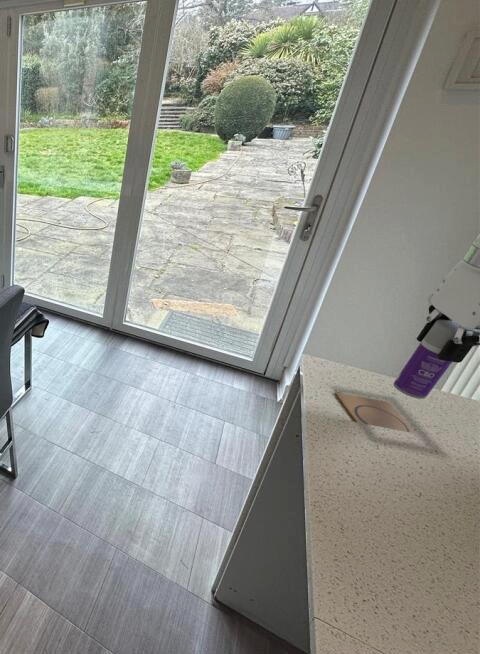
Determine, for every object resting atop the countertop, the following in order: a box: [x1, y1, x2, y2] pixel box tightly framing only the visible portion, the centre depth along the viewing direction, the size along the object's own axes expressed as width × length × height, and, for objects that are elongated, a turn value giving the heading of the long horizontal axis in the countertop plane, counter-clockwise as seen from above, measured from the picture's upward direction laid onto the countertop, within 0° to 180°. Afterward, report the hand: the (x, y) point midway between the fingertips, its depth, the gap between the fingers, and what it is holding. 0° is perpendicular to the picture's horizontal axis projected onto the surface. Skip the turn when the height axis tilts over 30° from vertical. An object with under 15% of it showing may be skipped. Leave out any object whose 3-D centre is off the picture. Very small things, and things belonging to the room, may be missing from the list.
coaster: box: [334, 391, 417, 435], centre depth 84 cm, size 10×14×1 cm
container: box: [393, 320, 473, 400], centre depth 76 cm, size 5×5×15 cm
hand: (437, 350), depth 75 cm, fingers closed on container, 4 cm apart
